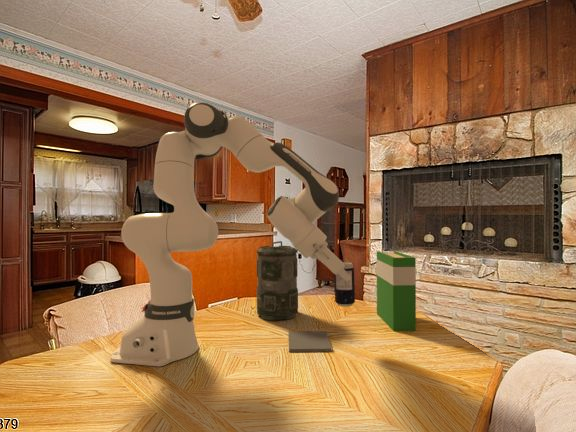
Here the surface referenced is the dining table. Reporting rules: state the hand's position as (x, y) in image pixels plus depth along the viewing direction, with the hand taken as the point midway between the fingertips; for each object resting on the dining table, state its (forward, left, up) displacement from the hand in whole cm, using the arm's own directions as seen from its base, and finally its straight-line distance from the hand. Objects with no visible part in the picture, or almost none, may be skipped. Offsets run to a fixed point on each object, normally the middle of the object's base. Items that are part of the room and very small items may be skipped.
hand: (345, 276), depth 90 cm
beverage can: (0, 0, -8) cm, 8 cm away
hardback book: (+21, +20, -20) cm, 36 cm away
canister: (-21, +29, -20) cm, 41 cm away
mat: (-11, +3, -20) cm, 23 cm away
